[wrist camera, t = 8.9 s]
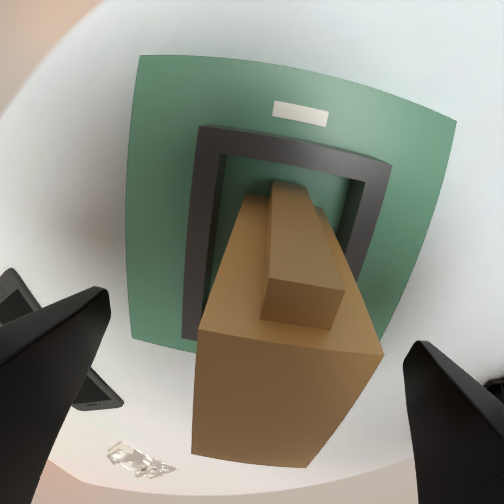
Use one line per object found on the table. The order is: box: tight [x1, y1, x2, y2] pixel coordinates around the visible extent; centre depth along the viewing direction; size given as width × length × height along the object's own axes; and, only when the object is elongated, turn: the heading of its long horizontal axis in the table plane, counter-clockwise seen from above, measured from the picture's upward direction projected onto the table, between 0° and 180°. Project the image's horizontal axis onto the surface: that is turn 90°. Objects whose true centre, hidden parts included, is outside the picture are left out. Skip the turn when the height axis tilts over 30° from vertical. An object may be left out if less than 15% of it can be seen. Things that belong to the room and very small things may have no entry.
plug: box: [191, 180, 384, 468], centre depth 9 cm, size 5×3×8 cm, turn 170°
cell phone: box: [0, 268, 124, 411], centre depth 19 cm, size 7×14×1 cm, turn 27°
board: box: [126, 55, 457, 353], centre depth 12 cm, size 14×13×3 cm
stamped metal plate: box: [107, 442, 177, 479], centre depth 26 cm, size 8×7×2 cm
